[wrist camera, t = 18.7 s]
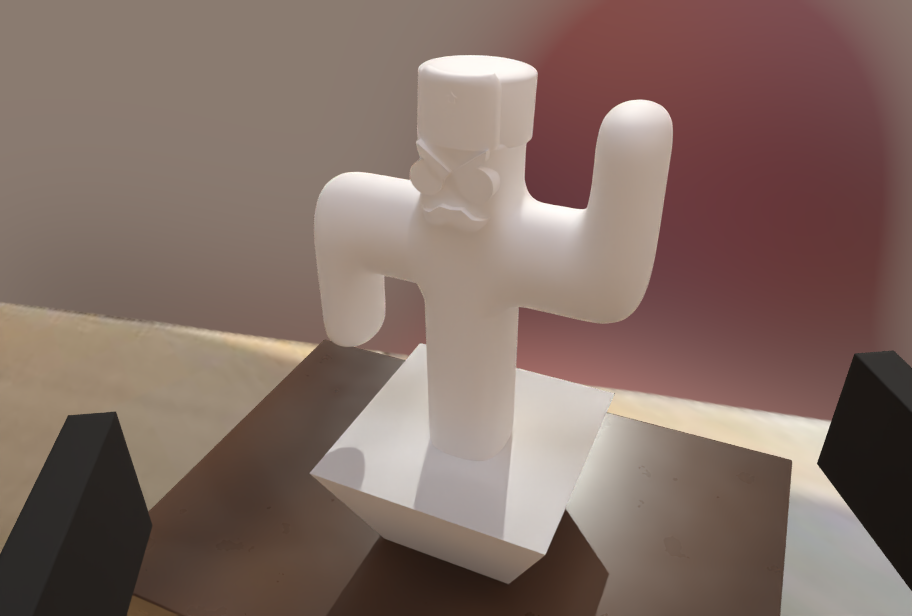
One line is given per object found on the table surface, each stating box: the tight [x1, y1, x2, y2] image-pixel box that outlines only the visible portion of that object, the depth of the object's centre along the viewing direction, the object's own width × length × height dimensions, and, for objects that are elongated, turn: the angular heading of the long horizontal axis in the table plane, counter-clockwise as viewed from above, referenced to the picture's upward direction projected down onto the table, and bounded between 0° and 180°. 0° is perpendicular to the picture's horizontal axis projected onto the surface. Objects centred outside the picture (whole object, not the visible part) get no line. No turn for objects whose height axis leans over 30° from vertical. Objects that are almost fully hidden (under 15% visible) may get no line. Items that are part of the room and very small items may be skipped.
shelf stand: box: [127, 340, 792, 616], centre depth 28 cm, size 20×14×10 cm
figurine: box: [310, 55, 673, 584], centre depth 21 cm, size 7×9×15 cm
